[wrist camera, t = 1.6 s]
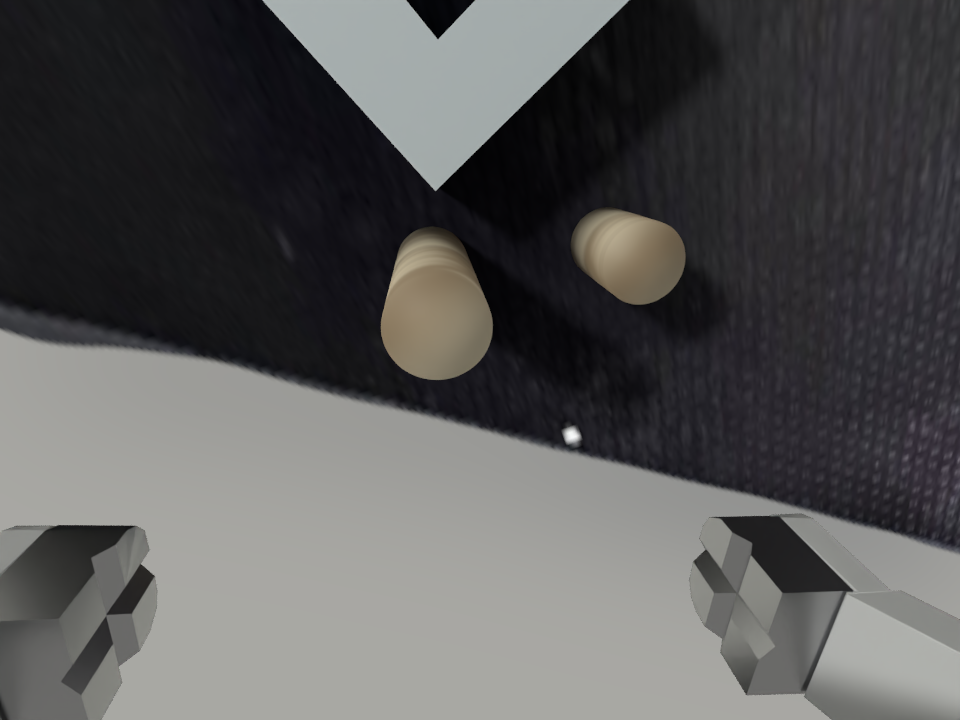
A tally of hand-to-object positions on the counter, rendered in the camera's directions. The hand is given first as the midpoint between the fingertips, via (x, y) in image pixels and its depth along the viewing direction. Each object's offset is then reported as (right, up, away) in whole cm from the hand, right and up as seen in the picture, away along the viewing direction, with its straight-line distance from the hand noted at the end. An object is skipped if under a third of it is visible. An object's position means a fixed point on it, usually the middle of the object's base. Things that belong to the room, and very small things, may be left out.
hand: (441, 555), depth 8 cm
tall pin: (-2, +8, +22) cm, 24 cm away
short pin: (+8, +10, +23) cm, 26 cm away
